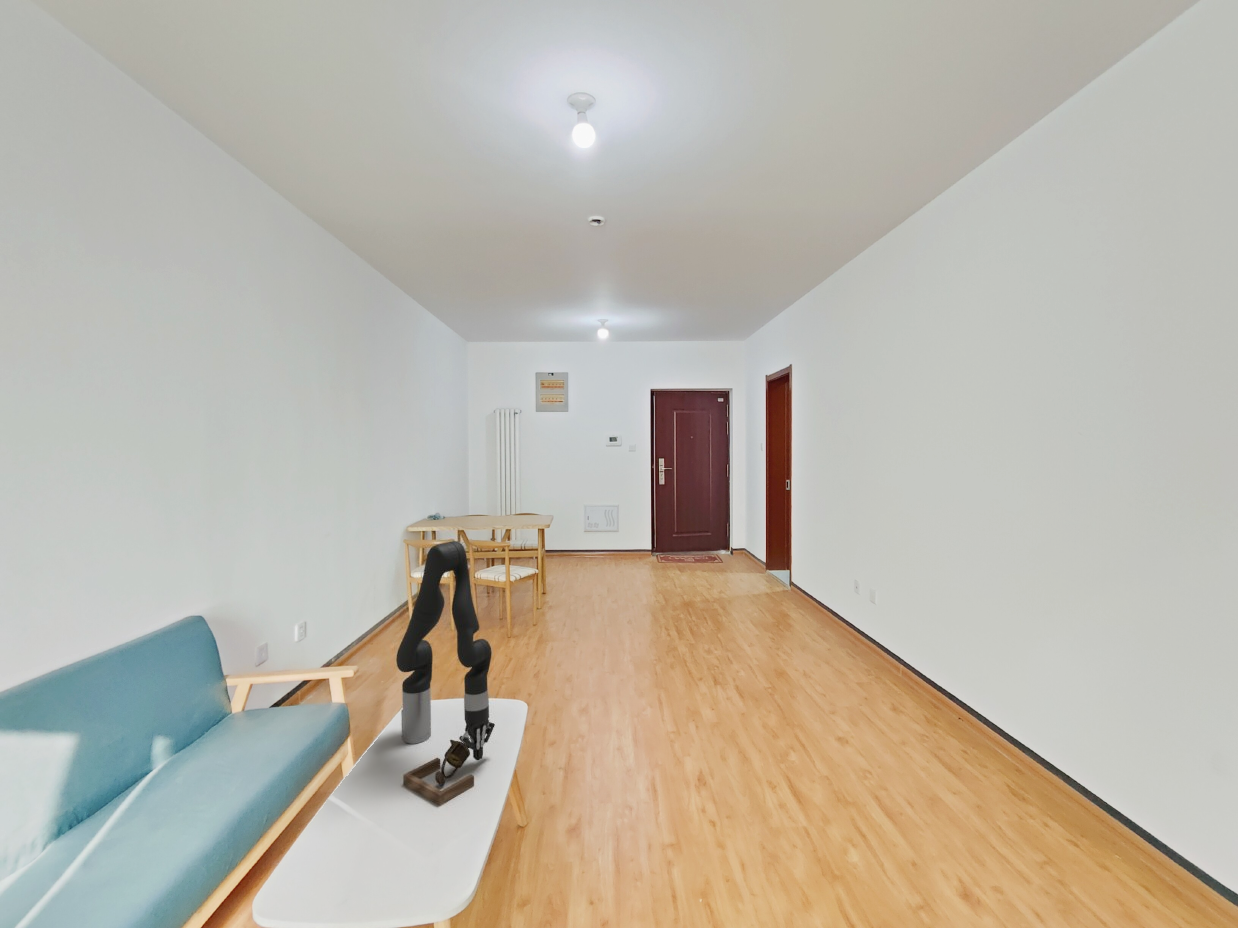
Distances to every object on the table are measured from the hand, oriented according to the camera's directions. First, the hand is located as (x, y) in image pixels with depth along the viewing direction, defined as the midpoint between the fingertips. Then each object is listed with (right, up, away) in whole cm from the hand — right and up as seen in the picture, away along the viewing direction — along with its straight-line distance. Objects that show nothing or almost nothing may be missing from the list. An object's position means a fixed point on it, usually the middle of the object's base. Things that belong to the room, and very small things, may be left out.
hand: (478, 758), depth 185 cm
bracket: (-9, -2, -11) cm, 15 cm away
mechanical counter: (-5, -2, -7) cm, 9 cm away
